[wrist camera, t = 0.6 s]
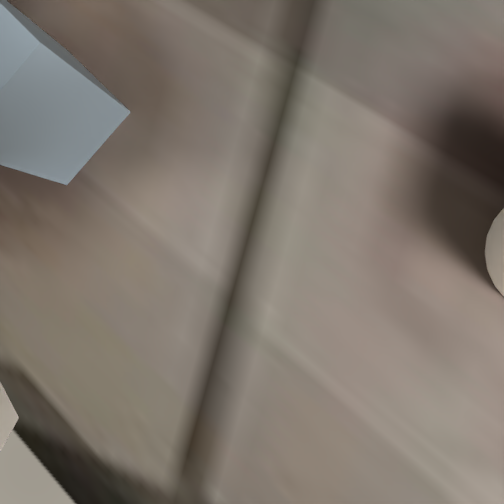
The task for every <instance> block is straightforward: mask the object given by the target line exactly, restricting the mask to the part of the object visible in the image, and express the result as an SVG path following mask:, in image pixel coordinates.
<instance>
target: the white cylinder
mask: <svg viewBox="0 0 504 504" xmlns="http://www.w3.org/2000/svg"><path fill="white" fill-rule="evenodd" d="M485 259H486V265H487V270H488V273H489V275H490V277H491V279H492V281H493V283H494V286H495V287H496V288H497V289H498V290H499V292H500V293H501V294H502V295H503V296H504V208H503V209H502V211H501V212H500V213H499V214H498V215H497V217H496V218H495V219H494V221H493V223H492V225H491V227H490V230H489V232H488V234H487V238H486V246H485Z"/></svg>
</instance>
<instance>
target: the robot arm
mask: <svg viewBox="0 0 504 504" xmlns="http://www.w3.org/2000/svg"><path fill="white" fill-rule="evenodd" d="M18 418H19V417H18V415H17V413H16V411H15V410H14V408H13V406H12V404H11V402H10V400H9V398H8V396H7V394H6V392H5V390H4V388H3V386H2V385H1V383H0V451H1V449H2V448H3V446H4V444H5V442H6V440H7V438H8V437H9V435H10V433H11V431H12V429H13V428H14V426H15V424H16V422H17V420H18Z"/></svg>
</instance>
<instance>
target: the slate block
mask: <svg viewBox="0 0 504 504" xmlns="http://www.w3.org/2000/svg"><path fill="white" fill-rule="evenodd" d="M129 113H130V111H129V110H128V109H127V108H126V107H125V106H124V105H123V104H122V103H121V102H120V101H119V100H118V99H117V98H116V97H115V96H114V95H113V94H112V93H111V92H110V91H109V90H108V89H107V88H106V87H105V86H103V85H102V84H101V83H100V82H99V81H98V80H97V79H96V78H95V77H94V76H93V75H92V74H91V73H90V72H89V71H88V70H87V69H86V68H85V67H84V66H83V65H82V64H81V63H80V62H79V61H78V60H77V59H76V58H75V57H74V56H73V55H72V54H71V53H70V52H69V51H68V50H66V49H65V48H64V47H63V46H62V45H60V44H59V43H58V42H57V41H55V40H54V39H53V38H52V37H51V36H49V35H48V34H47V33H46V32H44V31H43V30H42V29H41V28H40V27H38V26H37V25H36V24H35V23H33V22H32V21H31V20H30V19H29V18H27V17H26V16H25V15H24V14H22V13H21V12H20V11H19V10H18V9H16V8H15V7H14V6H13V5H11V4H10V3H9V2H8V1H7V0H0V165H2V166H6V167H9V168H12V169H16V170H19V171H22V172H25V173H29V174H32V175H35V176H38V177H42V178H45V179H48V180H52V181H55V182H58V183H61V184H65V185H67V184H68V183H69V182H70V181H71V180H72V179H73V178H74V176H75V175H76V174H77V173H78V172H79V171H80V170H81V168H82V167H83V166H84V165H85V164H86V163H87V162H88V160H89V159H90V158H91V157H92V156H93V155H94V154H95V152H96V151H97V150H98V149H99V148H100V147H101V145H102V144H103V143H104V142H105V141H106V140H107V139H108V137H109V136H110V135H111V134H112V133H113V132H114V131H115V129H116V128H117V127H118V126H119V125H120V124H121V123H122V121H123V120H124V119H125V118H126V117H127V116H128V115H129Z"/></svg>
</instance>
